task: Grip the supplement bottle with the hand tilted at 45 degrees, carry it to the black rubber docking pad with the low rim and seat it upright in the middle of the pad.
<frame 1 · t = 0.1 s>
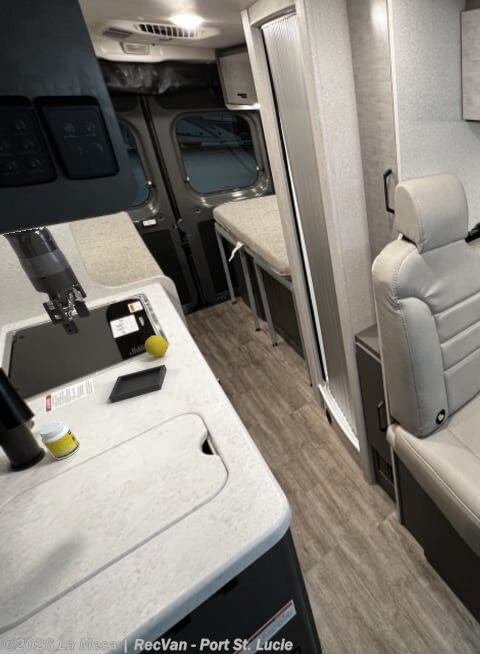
hand: (80, 324, 99), 24 cm above the counter, tool pointing down, fingers open, 8 cm apart
dock pad: (140, 385, 113), on the counter
lemon: (161, 356, 125), on the counter
supplement bottle: (68, 452, 93), on the counter
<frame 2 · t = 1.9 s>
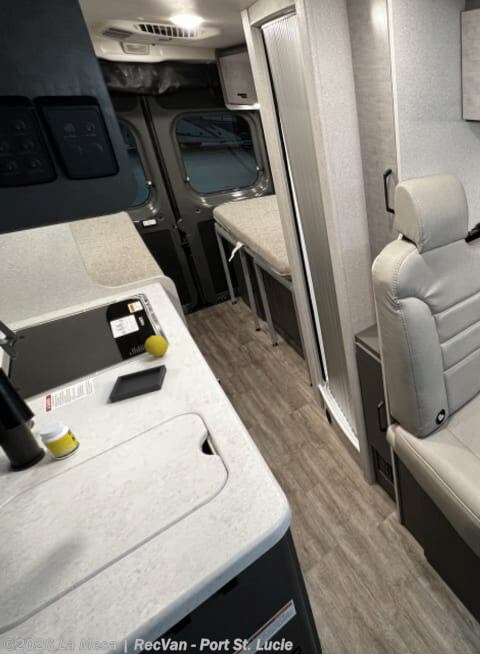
nothing on the counter moved.
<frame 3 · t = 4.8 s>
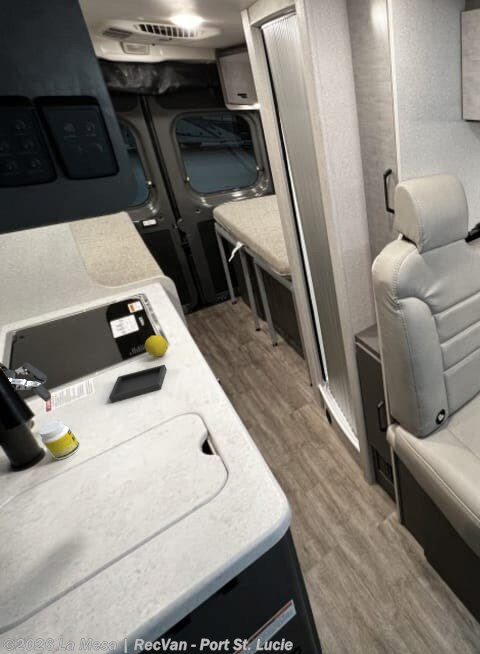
hand: (26, 412, 90), 11 cm above the counter, tool tilted 45°, fingers open, 8 cm apart
nothing on the counter moved.
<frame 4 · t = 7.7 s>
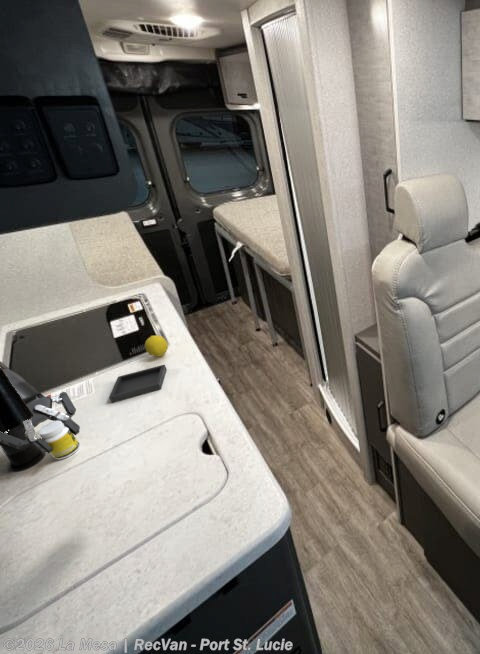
hand: (64, 441, 91), 4 cm above the counter, tool tilted 45°, fingers closed on supplement bottle, 4 cm apart
supplement bottle: (68, 452, 93), on the counter, touching gripper
everything else where it was.
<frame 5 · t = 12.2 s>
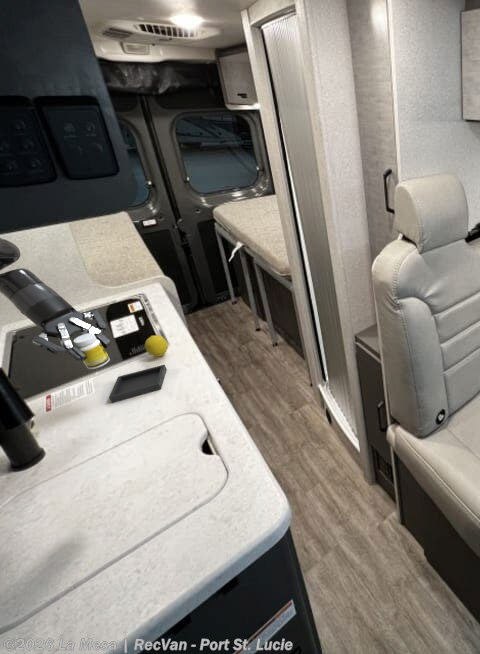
hand: (96, 352, 98), 18 cm above the counter, tool tilted 45°, fingers closed on supplement bottle, 4 cm apart
supplement bottle: (99, 364, 101), point 14 cm above the counter, touching gripper
everything else where it was.
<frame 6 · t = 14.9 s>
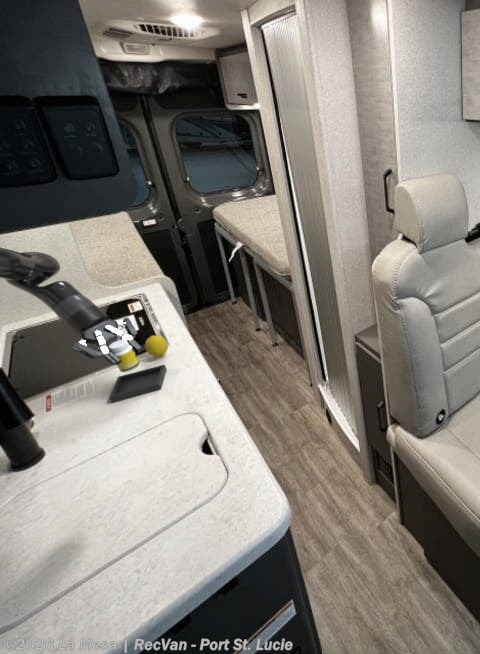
hand: (129, 357, 108), 11 cm above the counter, tool tilted 45°, fingers closed on supplement bottle, 4 cm apart
supplement bottle: (130, 367, 110), point 7 cm above the counter, touching gripper
everything else where it was.
when the fingers open (5 cm above the counter, at t = 17.1 s): supplement bottle stays where it is, resting on dock pad.
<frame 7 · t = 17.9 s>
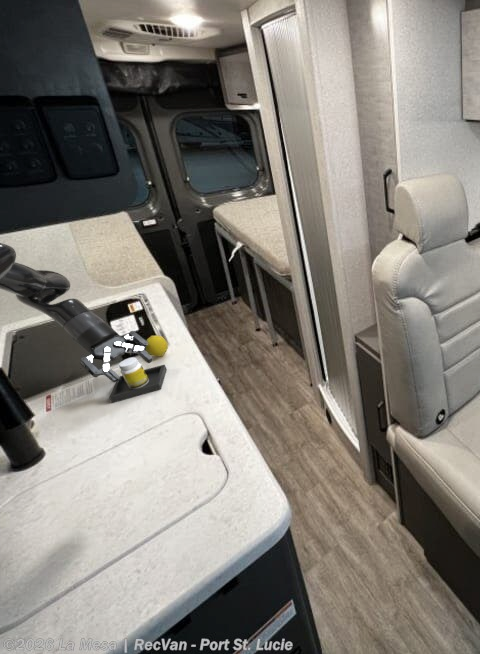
hand: (135, 370, 110), 6 cm above the counter, tool tilted 45°, fingers open, 8 cm apart
supplement bottle: (139, 384, 113), resting on dock pad
everything else where it was.
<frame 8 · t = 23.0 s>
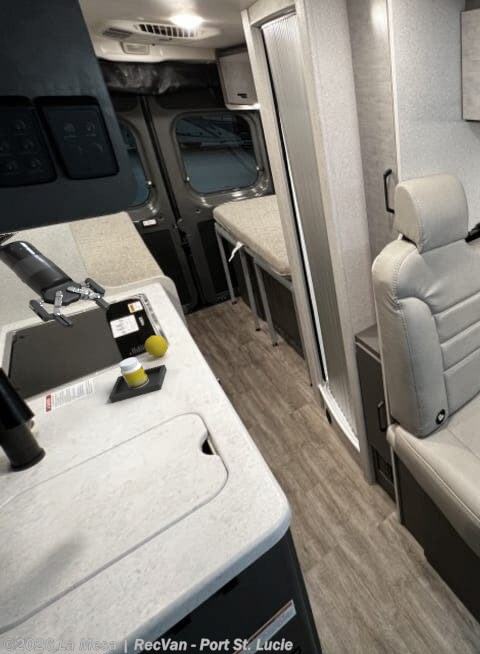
hand: (90, 317, 105), 23 cm above the counter, tool tilted 45°, fingers open, 8 cm apart
nothing on the counter moved.
at the end: supplement bottle 0.1 cm off-centre in the dock pad, point 0.3 cm above the dock pad's base; supplement bottle tilted 0°; the gripper is holding nothing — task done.
